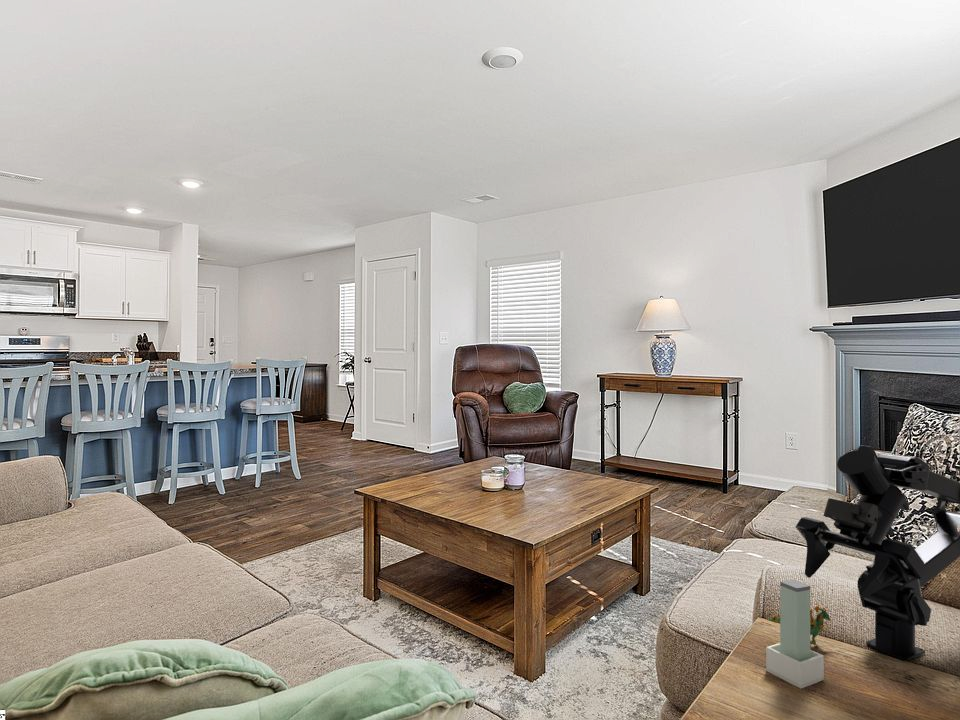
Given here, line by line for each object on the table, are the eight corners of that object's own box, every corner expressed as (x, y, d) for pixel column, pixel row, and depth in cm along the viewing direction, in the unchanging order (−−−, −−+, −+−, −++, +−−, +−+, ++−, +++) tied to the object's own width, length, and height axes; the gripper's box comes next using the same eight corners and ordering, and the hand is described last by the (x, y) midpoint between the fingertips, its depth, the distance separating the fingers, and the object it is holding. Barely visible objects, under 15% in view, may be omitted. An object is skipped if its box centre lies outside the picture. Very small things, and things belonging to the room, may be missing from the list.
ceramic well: (788, 662, 93) (788, 639, 93) (823, 679, 88) (823, 655, 88) (766, 670, 90) (766, 647, 91) (800, 688, 85) (800, 663, 85)
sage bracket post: (793, 665, 91) (793, 579, 92) (810, 674, 88) (810, 585, 89) (780, 668, 90) (780, 581, 90) (797, 678, 87) (797, 588, 88)
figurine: (836, 648, 98) (836, 601, 99) (773, 650, 97) (773, 603, 97) (824, 640, 101) (823, 595, 102) (762, 642, 100) (762, 596, 100)
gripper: (802, 472, 103) (759, 539, 98) (913, 493, 86) (868, 574, 81) (830, 511, 106) (790, 577, 101) (944, 538, 89) (902, 619, 84)
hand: (832, 585), depth 92 cm, fingers open, 9 cm apart
